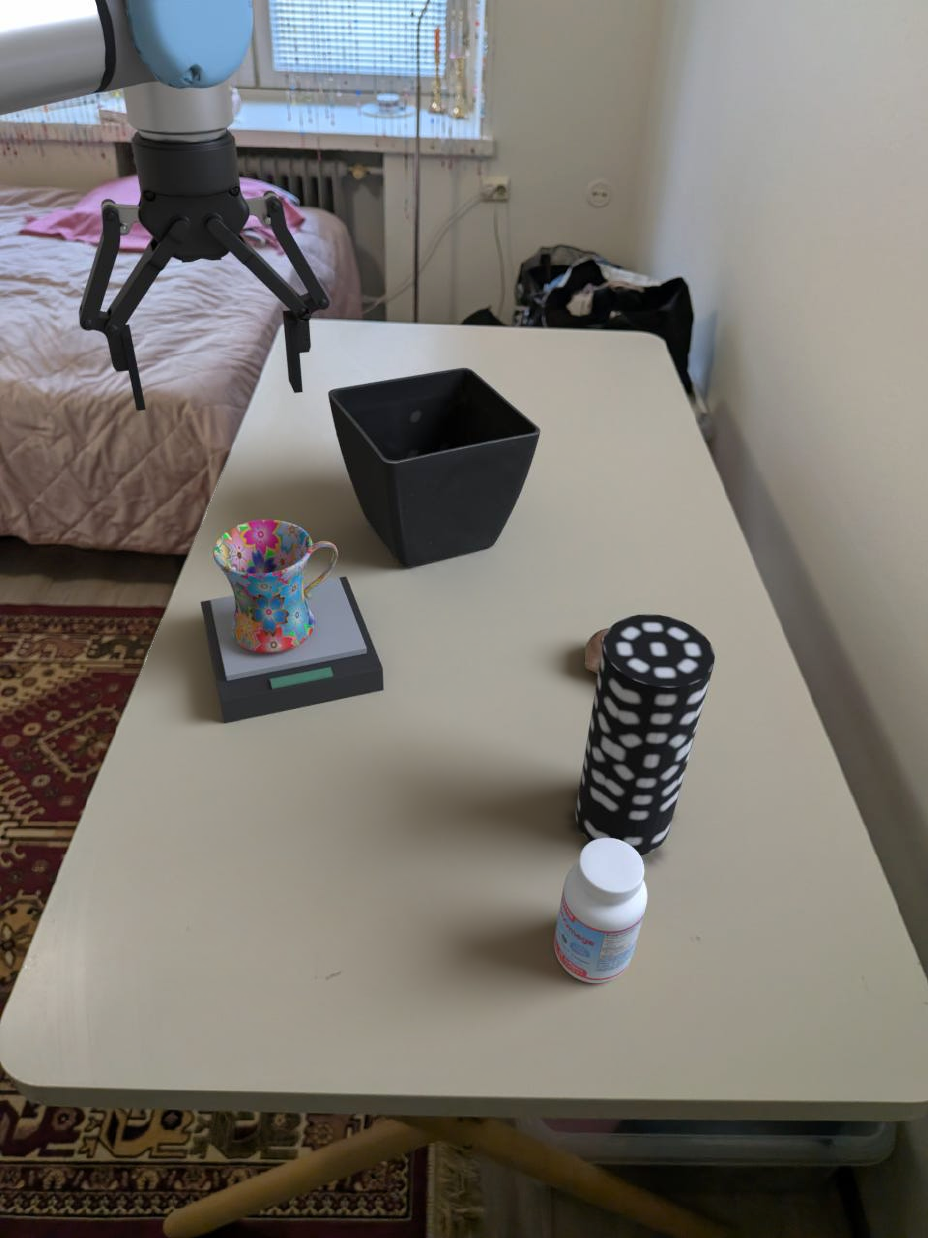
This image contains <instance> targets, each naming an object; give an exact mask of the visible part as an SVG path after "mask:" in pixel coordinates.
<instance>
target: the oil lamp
mask: <svg viewBox="0 0 928 1238" xmlns="http://www.w3.org/2000/svg"><path fill="white" fill-rule="evenodd" d="M609 628H610V627H607V628H603V629H600V630H598V631H596V632H595V633H593V634H592V636H591V637H590V638H589V639H588V640H587V642H586V644H585V647H584V657H585V663H584V667H585V668H586V669H587V670H588V671H592V672H593V673H596V674H597V675H598V671H599V665H600V659H601V652H602V646H603V641H604V637H605V634H606V633H607V631H608V629H609Z"/></svg>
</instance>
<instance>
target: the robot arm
mask: <svg viewBox="0 0 928 1238" xmlns="http://www.w3.org/2000/svg"><path fill="white" fill-rule="evenodd" d="M253 30H254V8H253V0H0V116H4V115H8V114H12V113H17V112H23V111H26V110H30V109H34V108H39V107H43V106H46V105H51V104H55V103H60V102H64V101H68V100H72V99H76V98H80V97H85V96H90V95H94V94H97V93H98V94H101V93H107V92H112V91H115V90H120V89H122V92H123V100H124V105H125V110H126V111H125V112H126V115H127V122H128V124H129V125H130V127H132V128H133V129H135V130H138V131H136V132H135V133H134V134H133V137H132V138H131V145H132V150H133V156H134V162H135V168H136V174H137V180H138V186H139V193H140V198H139V201H138V204H124V203H123V204H122V203H121V204H120V203H116V202H115V201H114V200H113V199H111V198H105V199H104V200H102V201H101V203H100V211H101V213H100V214H101V225H102V231H101V234H100V237H99V241H98V245H97V247H96V251H95V254H94V258H93V260H92V265H91V268H90V271H89V275H88V278H87V282H86V286H85V288H84V292H83V295H82V298H81V302H80V305H79V309H78V320H79V326H80V328H81V329H82V330H84V331H87V332H91V331H96V332H100V333H102V334H103V335H104V336H105V338H106V340H107V345H108V350H109V354H110V359H111V364H112V367H113V369H114V370H115V371H116V373H117V372H118V373H121V372H128V375H129V380H130V384H131V385H130V386H131V390H132V395H133V399H134V404H135V409H136V412H139V411H146V410H147V409H146V403H145V397H144V393H143V387H142V382H141V377H140V372H139V367H138V362H137V357H136V351H135V346H134V342H133V341H134V340H133V336H132V332H131V326H130V324H127V323H128V322H129V320H130V319H131V317H132V316H133V314H134V313H135V311H136V309H137V308H138V306H139V305H140V303H141V302H142V300H143V299H144V298H145V296H146V294H147V293H148V291H149V290H150V289H151V286H152V285H153V284H154V282H155V280H156V279H157V278H158V276H159V274H160V273H161V272H162V271H163V270H165V268H166V266H167V265H168V264H169V262H170V261H171V259H172V258H173V259H175V260H177V261H180V262H181V263H182V264H184V263H185V264H186V263H193V262H196V261H199V260H206V261H212V262H213V261H222V258H224V257H226V256H228V255H229V254H230V253H231V255H232V256H233V257H234V258H236V259H237V260H238V261H239V262H240V263H241V264H242V265H244V267H246V268H247V269H248V270H249V271H250V272H251V273H252V274H253V275H254V276H255V277H256V278H257V279H259V281H260V282H261V283H262V284H263V285H264V286H265V287H266V288H267V289H268V290H269V291H270V292H271V293H272V295H274V296H275V297H276V298H277V299H278V300H279V301H280V302H281V303H282V304H283V305H284V306H286V308H287V310H282V321H283V332H284V333H283V334H284V342H285V353H286V367H287V375H288V376H287V377H288V383H289V384H290V387H291V389H292V391H293V393H294V394H299V393H304V391H303V389H304V388H303V379H302V366H301V365H302V364H301V354H307V353H310V352H311V348H312V342H311V327H310V320H311V319H312V314H313V313H316V312H317V311H324V310H327V309H328V308H330V307H329V306H330V303H331V301H330V299H329V297H328V295H327V294H326V292H325V290H324V289H323V286H322V284H321V283H320V282H319V280H318V278H317V276H316V275H315V273H314V271H313V270H312V267H311V266H310V264H309V262H308V261H307V259H306V258H305V255H304V253H303V252H302V250H301V248H300V247H299V245H298V243H297V241H296V240H295V238H294V236H293V235H292V233H291V231H290V229H289V228H288V223H287V220H286V214H285V208H284V205H283V202H282V200H281V199H280V197H279V195H278V194H277V193H276V192H275V191H273V190H266V191H265V192H264V193H263V195H262V196H257V197H252V198H246V199H245V197H244V196H243V193H242V189H241V181H240V172H239V162H238V161H239V160H238V151H237V145H236V137H235V136H234V135H233V133H232V132H231V131H230V130H228V129H229V127H230V126H231V125H232V124H233V123H234V116H233V107H232V97H231V88H230V80H229V79H230V78H231V77H232V76H233V75H234V74H235V73H236V72H237V71H238V69H239V68H240V67H241V65H242V64H243V62H244V61H245V58H246V56H247V54H248V51H249V48H250V45H251V41H252V37H253ZM250 216H254V217H256V218H257V220H258V221H259V223H260V224H261V225H262V226H263V227H269V229H271V231H272V234H273V235H274V237H275V238H276V240H277V242H278V243H279V245H280V247H281V249H282V250H283V252H284V253H285V255H286V257H287V259H288V260H289V262H290V264H291V266H292V268H293V269H294V271H295V272H296V274H297V276H298V277H299V279H300V281H301V282H302V284H303V286H304V288H305V290H306V291H307V292H306V293H303V294H302V295H300V294H299V293H298V292H297V291H296V290H295V289H294V288H293V287H292V286H291V285H290V284H289V283H288V282H287V280H285V279H284V278H283V277H282V275H280V273H279V272H277V271H276V270H275V269H274V268H273V267H272V266H271V265H270V263H268V261H266V260H265V259H264V258H263V256H261V255H260V254H259V252H258V251H256V249H255V248H253V247H252V245H251V244H250V243H249V242H248V241H247V240H246V238H245V237H244V236H243V235H242V234H241V233H242V231H243V230H244V227H245V226H246V224H247V222H248V221H249V219H250ZM135 223H140V225H141V226H142V227H143V229H144V230H146V231H147V232H148V234H149V235H150V236H151V239H150V241H149V242H148V243H147V245H146V247H145V250H144V252H143V254H142V255H141V257H140V258H139V260H138V262H137V263H136V265H135V266H134V268H133V269H132V271H131V272H130V275H129V276H128V277H127V279H126V280H125V282H124V283H123V285H122V287H121V288H120V290H119V291H118V293H117V294H116V296H115V297H114V299H113V301H112V302H111V304H110V305H109V307H108V308H107V310H106V311H102V310H101V309H102V306H103V303H104V299H105V296H106V293H107V290H108V287H109V284H110V280H111V277H112V274H113V270H114V267H115V264H116V260H117V257H118V253H119V250H120V246H121V237H122V236H124V237H125V236H127V235H129V234H130V232H131V229H132V227H133V225H134V224H135Z"/></svg>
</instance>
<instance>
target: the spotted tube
mask: <svg viewBox="0 0 928 1238" xmlns="http://www.w3.org/2000/svg"><path fill="white" fill-rule="evenodd" d="M608 628H609V629H608V631H607V633H606V634H605V637H604V641H603V646H602V652H601V659H600V665H599V671H598V674H597V677H596V682H595V683H596V684H595V688H594V689H595V690H594V696H593V701H592V706H591V707H592V708H591V715H590V718H589V719H590V720H589V725H588V732H587V738H586V744H585V750H584V755H583V757H584V758H583V763H582V769H581V775H580V781H579V788H578V791H577V799H576V805H575V820H576V824H577V826H578V828H579V830H580V833H581V834H582V835H583V836H584V837H585V839H586V840H587V841H588V842H589V843H590V842H591V841H593V840H596V839H600V838H614V839H618V840H621V841H623V842H625V843H627V844H629V845H630V846H632V847H633V848H634V849H635V850H636V851H637V852H638V854H639V855H640V856H643V855H648V854H649V853H652V852H654V851H656V850H657V849H658V848H660V846H662V845H663V843H664V842H665V841H666V840H667V837H668V835H669V832H670V830H671V829H670V828H671V825H672V821H673V818H674V813H675V810H676V806H677V803H678V799H679V795H680V792H681V789H682V784H683V781H684V778H685V773H686V769H687V766H688V762H689V758H690V755H691V752H692V748H693V744H694V740H695V737H696V734H697V729H698V726H699V721H700V718H701V714H702V711H703V706H704V703H705V700H706V695H707V692H708V688H709V685H710V680H711V677H712V673H713V670H714V666H715V660H716V655H715V649H714V648H713V646H712V643H711V641H709V639H708V638H707V637H706V635H704V634H703V633H702V632H701V631H700V630H699V629H697V628H695V627H694V626H693V625H691V624H689V623H687V622H685V621H683V620H680V619H677V618H674V617H672V616H669V615H668V616H667V615H663V614H652V613H651V614H650V613H646V614H645V613H643V614H636V615H635V614H634V615H631V616H627V617H624V618H621V619H620V620H618V621H616V622H615V623H614V624H612V625H611V626H610V627H608Z"/></svg>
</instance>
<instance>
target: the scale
mask: <svg viewBox="0 0 928 1238" xmlns="http://www.w3.org/2000/svg"><path fill="white" fill-rule="evenodd" d="M347 577H348V576H346V575H345V576H340V577H339V576H338V577H332V578H331V577H330V578H325V580H324V581H323V582H322V583H321V584H319V585H318V586H317V587H316V588H314V589H313V590H312V591H310V592H309V593H308V594H310V595H311V596H312V599H311V600H310V599H308V598H306V597H305V596H304V597H305V601H306V603H307V605H308V607H309V608H310V609H311V611H312V612H313V614H314V617H315V627H314V630H313V632H312V633H311V635H310V636H309V637H308V638H307V639H306V640H305V641H304V642H303V643H301V644H300V645H298V646H296V647H294V648H292V649H289V650H286V651H282V652H276V653H261V652H255V651H251V650H249V649H246V648H244V647H243V646H241V645H240V644H238V643H237V642H236V641H235V639H234V638H233V636H232V634H231V629H230V627H231V621H232V619H233V617H234V614H235V597H234V595H229V596H228V595H227V596H223V597H216V598H211V599H207V600H201V601H200V606H201V612H202V617H203V622H204V627H205V628H204V629H205V632H206V633H205V634H206V637H207V642H208V649H209V653H210V659H211V664H212V669H213V674H214V680H215V684H216V689H217V695H218V700H219V705H220V711H221V715H222V720H223V723H224V724H228V723H232V722H237V721H242V720H246V719H252V718H256V717H260V716H261V717H262V716H265V715H271V714H276V713H281V712H284V711H289V710H293V709H299V708H303V707H304V708H305V707H309V706H313V705H319V704H323V703H327V702H332V701H337V700H341V699H346V698H351V697H356V696H360V695H365V694H370V693H375V692H379V691H384V688H385V687H384V686H385V685H384V668H383V665H382V663H381V660H380V658H379V655H378V652H377V650H376V647H375V645H374V642H373V640H372V638H371V634H370V632H369V630H368V628H367V625H366V622H365V620H364V617H363V614H362V612H361V609H360V608H359V605H358V602H357V600H356V597H355V595H354V592H353V589H352V587H351V584H350V582H349V579H348V578H347ZM312 582H313V581H309V582H303V590H304V589H305V588H306V587H307V586H308V585H310V584H311V583H312Z"/></svg>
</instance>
